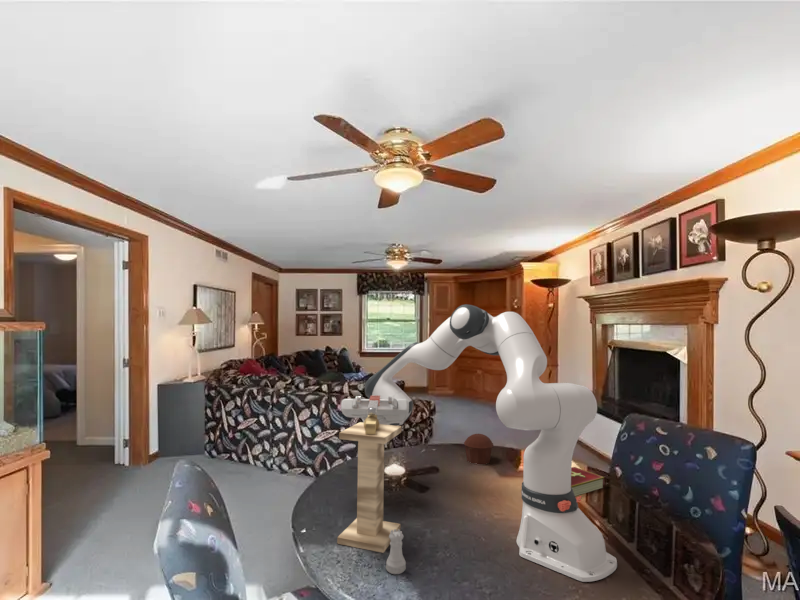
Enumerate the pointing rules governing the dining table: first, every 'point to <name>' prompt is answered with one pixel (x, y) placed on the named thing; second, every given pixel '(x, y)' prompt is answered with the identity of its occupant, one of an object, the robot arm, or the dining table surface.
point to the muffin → (478, 448)
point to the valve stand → (369, 486)
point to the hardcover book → (584, 481)
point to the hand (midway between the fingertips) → (374, 398)
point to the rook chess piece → (396, 554)
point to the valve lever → (373, 405)
